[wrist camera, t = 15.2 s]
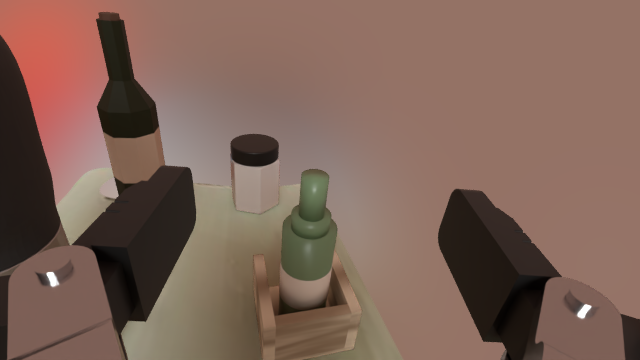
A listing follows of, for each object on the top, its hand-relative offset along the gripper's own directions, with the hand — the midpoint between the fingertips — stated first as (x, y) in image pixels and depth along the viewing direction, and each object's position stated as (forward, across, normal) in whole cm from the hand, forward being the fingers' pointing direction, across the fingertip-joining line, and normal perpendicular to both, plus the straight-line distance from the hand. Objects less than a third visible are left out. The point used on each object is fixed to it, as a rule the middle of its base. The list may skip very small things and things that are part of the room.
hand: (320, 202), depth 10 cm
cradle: (+19, 0, +30) cm, 35 cm away
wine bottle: (+44, +30, +30) cm, 61 cm away
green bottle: (+18, 0, +29) cm, 35 cm away
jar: (+44, +9, +30) cm, 54 cm away
